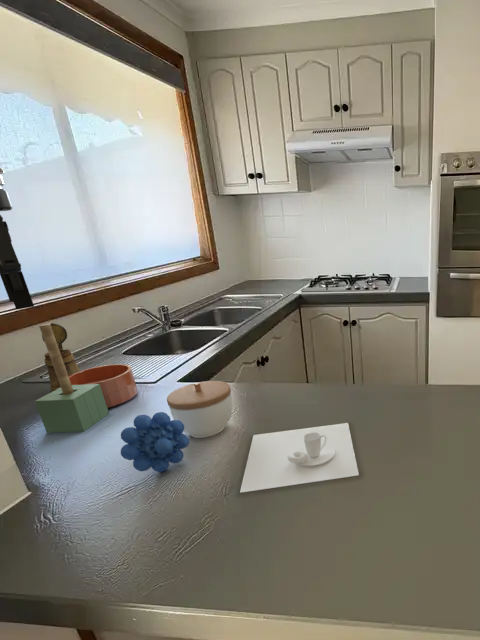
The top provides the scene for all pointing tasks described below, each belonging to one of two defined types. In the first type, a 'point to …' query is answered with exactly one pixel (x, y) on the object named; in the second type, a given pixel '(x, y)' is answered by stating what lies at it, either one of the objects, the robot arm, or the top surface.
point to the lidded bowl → (202, 407)
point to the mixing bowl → (109, 382)
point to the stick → (56, 358)
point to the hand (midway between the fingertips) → (21, 304)
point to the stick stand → (72, 409)
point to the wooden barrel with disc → (66, 355)
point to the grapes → (154, 442)
